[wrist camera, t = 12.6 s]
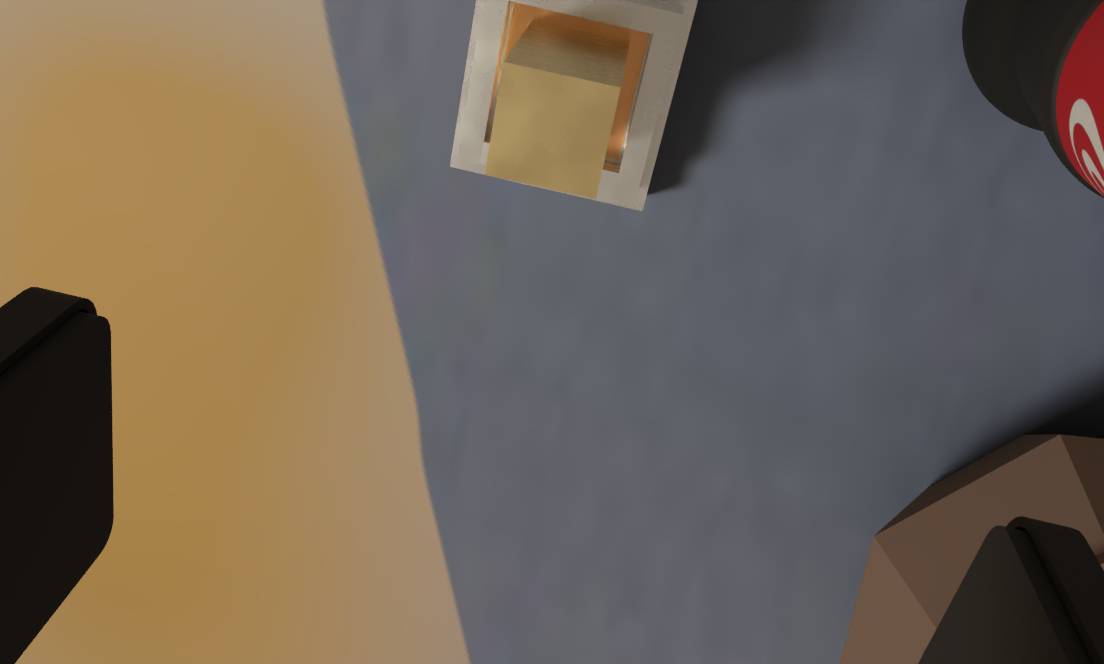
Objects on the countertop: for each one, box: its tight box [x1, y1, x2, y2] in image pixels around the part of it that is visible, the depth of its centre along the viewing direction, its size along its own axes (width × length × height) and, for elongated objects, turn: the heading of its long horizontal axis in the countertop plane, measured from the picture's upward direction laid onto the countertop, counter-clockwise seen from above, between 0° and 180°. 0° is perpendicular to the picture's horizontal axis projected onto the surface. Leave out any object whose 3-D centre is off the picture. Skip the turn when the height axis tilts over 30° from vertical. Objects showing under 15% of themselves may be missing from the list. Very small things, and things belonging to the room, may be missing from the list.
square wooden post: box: [485, 20, 630, 199], centre depth 39 cm, size 4×4×8 cm
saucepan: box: [840, 434, 1104, 664], centre depth 46 cm, size 24×24×16 cm
